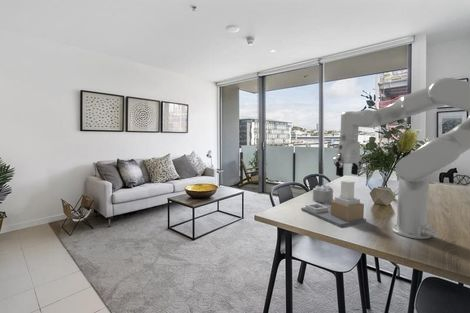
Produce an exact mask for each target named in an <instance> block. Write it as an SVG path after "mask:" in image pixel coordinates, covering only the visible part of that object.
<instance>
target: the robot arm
mask: <svg viewBox="0 0 470 313" xmlns="http://www.w3.org/2000/svg"><path fill="white" fill-rule="evenodd" d="M445 106H448V107H451V108H455V109H459V110H463V111H465V112H468V113H469V115H468V116H467V118H466V119H465V120H464V121H462V122H461V123H459V124H458V125H455V127H454V128H452V129H450V130H449V131H447V132H446V133H443V134H442V135H441V136H438V137H434V138H433V139H431V140H429V141H427V142H425V143H424V144H423V145H421V146H420V147H418V148H417V149H415V150H413V151H411V152H410V153H408V154H407V155H406V156H404V157H402V158H401V159H399V160H398V162H397V163H396V166H395V173H396V175H397V176H398V177H399V180H398V189H397V190H398V192H397V211H396V212H397V214H396V224H394V225H392V226H391V231H393V232H394V233H395V234H397V235H400V236H403V237H405V238H409V239H410V238H411V239H418V240H426V239H430V238H431V237H433V238H437V237H438V231H437V230H435V229H431V228H430V224H427V220H428V219H427V218H428V204H429V190H430V188H429V186H430V177H431V175H433V174H435V173H436V172H438V171H440V170H442V169H443V168H446V167H447V166H449V165H451V164H452V163H454V162H455V161H456V160H458V159H459V158H460V156H461V155H462V154H464V153H466V152H467V151H469V150H470V81H466V80H462V79H458V78H455V77H454V78H453V77H444V78H440V79H438V80H435V81H434V82H433V83H431V85H430V86H427V87H425V88H421V89H420V90H416V91H413V92H411V93H408V94H405V95H402V96H400V97H399V98H398V99H397V100H395V101H394V102H393V103H391V104H389V105H386V106H384V107H381V108H379V109H375V110H371V109H363V110H358V111H343V112H341V115H340V129H339V130H340V131H339V132H340V134H339V135H340V136H339V142H338V147H337V154H336V155H335V156H334V157H333V158H332V161H333V164H334V167H336V169H335V170H336V171H335V172H336V173H335V175H336V176H338V177H343V176H344V175H343V170H344V168H343V166H344V165H345V164H349V165H350V164H351V171H350V174H351V175H354V176H358V175H359V167H360V164H361V162H362V159H363V156H361V150H360V149H361V148H360V147H361V146H360V142H359V129H360V128H367V129H372V128H377V127H381V126H384V125H387V124H391V123H393V122H396V121H399V120H403V119H407V118H409V117H412V116H416V115H418V114H422V113H425V112H428V111H431V110H436V109H439V108H442V107H445Z"/></svg>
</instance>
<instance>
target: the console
mask: <svg viewBox="0 0 470 313" xmlns="http://www.w3.org/2000/svg"><path fill="white" fill-rule="evenodd" d="M301 211H303V212H304V213H306V214H309V215H311V216H314V217H316V218H318V219H321V220H323V221H324V222H325V221H326V222H328V223H330V224H332V225H335V226H336V227H339V228H343V227H348V226H352V225H358V224H363V223H366V222H367V218H365V217H364V211H365V203H363V202H361V198H357V197H354V200H345V199H341V196H340V195H339V196H335V197H334V199H333V201H331V202H330V206H329V205H327V204H326V203H323V204H320V203H311V204H305V206H304V207H301Z"/></svg>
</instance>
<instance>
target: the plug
mask: <svg viewBox="0 0 470 313" xmlns="http://www.w3.org/2000/svg"><path fill="white" fill-rule="evenodd" d="M355 183H356V182H355V181H352V180H341V182H340V195H341V199H345V200H354V198H355Z"/></svg>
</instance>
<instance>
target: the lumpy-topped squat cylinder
mask: <svg viewBox="0 0 470 313" xmlns="http://www.w3.org/2000/svg"><path fill="white" fill-rule="evenodd" d="M333 194H334V190H333V188H332V187H330V185H324V184H323V185H321V186H320V185H316V186H315V187H313V188H312V201H313V200H314V201H313V202H316V201H318V202H317V203H321V202H322V203H323V204H329V203H331V201H334V198H333ZM322 203H321V204H322Z"/></svg>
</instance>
